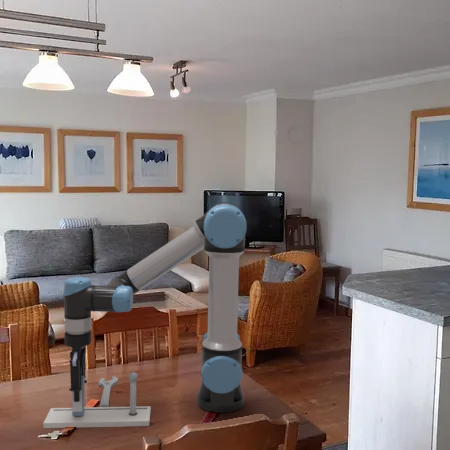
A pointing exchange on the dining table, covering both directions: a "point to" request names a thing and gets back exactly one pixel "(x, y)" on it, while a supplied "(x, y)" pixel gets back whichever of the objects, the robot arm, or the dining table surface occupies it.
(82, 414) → the post
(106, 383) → the adjustable wrench
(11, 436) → the dining table surface
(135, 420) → the plate
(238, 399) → the robot arm
